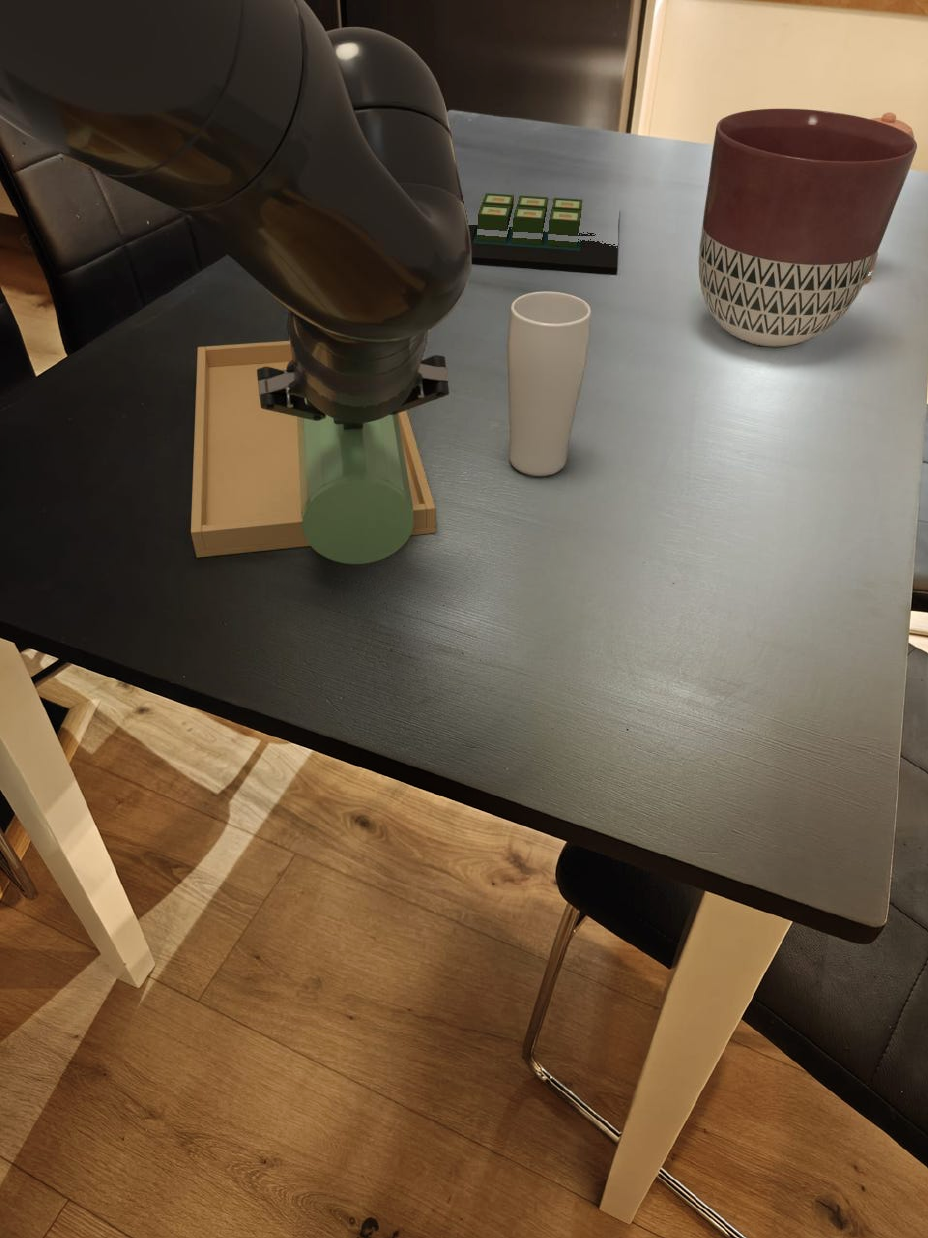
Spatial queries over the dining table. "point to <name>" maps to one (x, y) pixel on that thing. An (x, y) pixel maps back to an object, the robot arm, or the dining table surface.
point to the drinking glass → (545, 377)
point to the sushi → (538, 251)
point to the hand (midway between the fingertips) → (352, 415)
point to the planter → (795, 218)
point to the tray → (260, 458)
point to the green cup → (354, 489)
